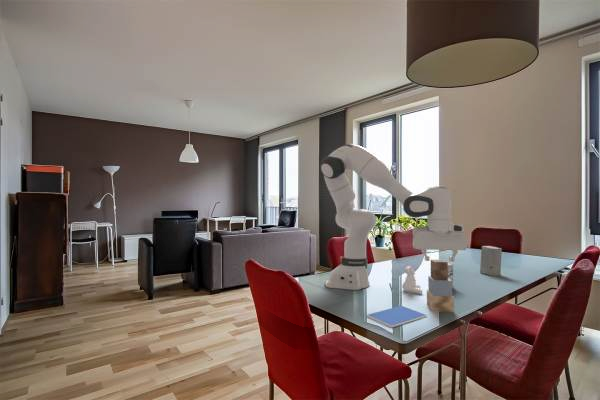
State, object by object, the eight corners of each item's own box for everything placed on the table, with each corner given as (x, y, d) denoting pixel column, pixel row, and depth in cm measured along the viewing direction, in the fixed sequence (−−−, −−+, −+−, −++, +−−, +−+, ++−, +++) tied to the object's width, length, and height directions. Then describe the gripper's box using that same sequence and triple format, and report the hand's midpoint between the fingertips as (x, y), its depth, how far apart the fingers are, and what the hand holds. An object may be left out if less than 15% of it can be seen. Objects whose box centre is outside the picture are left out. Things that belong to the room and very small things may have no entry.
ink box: (444, 290, 146) (443, 265, 146) (434, 287, 150) (434, 263, 150) (453, 287, 150) (453, 263, 150) (444, 285, 155) (444, 261, 155)
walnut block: (434, 279, 120) (434, 262, 120) (430, 276, 125) (430, 259, 125) (447, 280, 119) (447, 262, 119) (443, 276, 124) (443, 259, 124)
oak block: (431, 311, 119) (431, 295, 119) (426, 304, 127) (426, 290, 127) (453, 312, 117) (453, 296, 117) (447, 305, 125) (447, 290, 125)
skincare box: (479, 273, 179) (479, 246, 179) (489, 272, 181) (488, 245, 181) (492, 276, 171) (492, 248, 171) (502, 275, 173) (502, 247, 173)
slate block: (433, 295, 119) (432, 280, 119) (428, 290, 126) (428, 276, 126) (452, 296, 118) (452, 281, 118) (446, 291, 125) (446, 276, 125)
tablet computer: (401, 307, 124) (401, 304, 124) (428, 318, 113) (428, 314, 113) (365, 317, 114) (365, 314, 114) (392, 330, 103) (392, 326, 103)
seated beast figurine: (423, 294, 139) (422, 268, 139) (403, 293, 141) (402, 267, 141) (419, 289, 148) (419, 264, 148) (401, 288, 150) (401, 263, 150)
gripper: (414, 226, 121) (414, 261, 121) (469, 227, 118) (469, 263, 118) (410, 225, 127) (410, 258, 127) (462, 226, 124) (462, 259, 124)
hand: (439, 260), depth 122 cm, fingers open, 8 cm apart
